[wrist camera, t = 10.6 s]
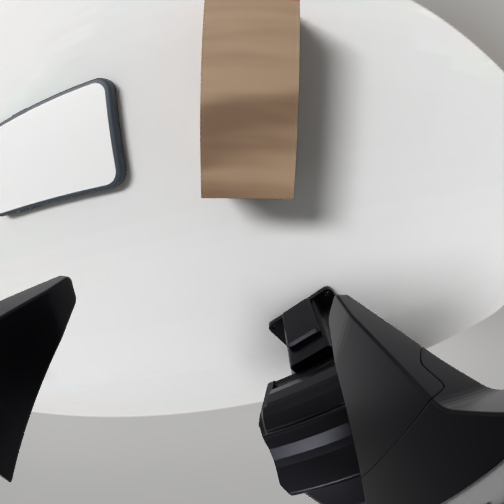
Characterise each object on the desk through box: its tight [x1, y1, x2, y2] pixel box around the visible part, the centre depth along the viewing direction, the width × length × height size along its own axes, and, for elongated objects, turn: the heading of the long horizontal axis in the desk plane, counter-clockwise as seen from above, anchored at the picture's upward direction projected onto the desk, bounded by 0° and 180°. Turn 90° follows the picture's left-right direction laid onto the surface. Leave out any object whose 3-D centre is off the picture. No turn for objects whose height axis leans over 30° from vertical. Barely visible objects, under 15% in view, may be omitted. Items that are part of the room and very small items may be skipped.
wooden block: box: [200, 0, 300, 200], centre depth 15 cm, size 5×5×13 cm
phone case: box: [0, 78, 126, 216], centre depth 18 cm, size 9×2×16 cm
